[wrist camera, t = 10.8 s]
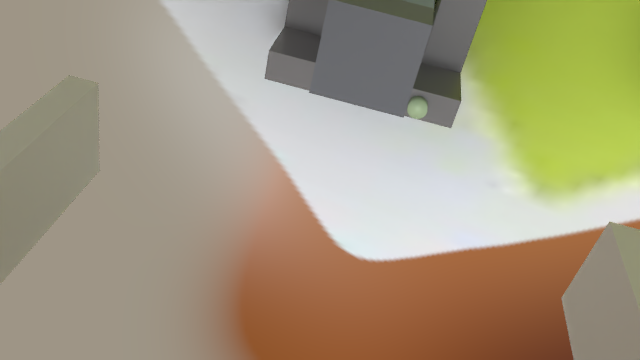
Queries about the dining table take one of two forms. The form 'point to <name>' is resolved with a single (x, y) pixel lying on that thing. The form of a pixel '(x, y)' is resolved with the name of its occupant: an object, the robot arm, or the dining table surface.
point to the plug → (372, 52)
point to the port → (434, 72)
